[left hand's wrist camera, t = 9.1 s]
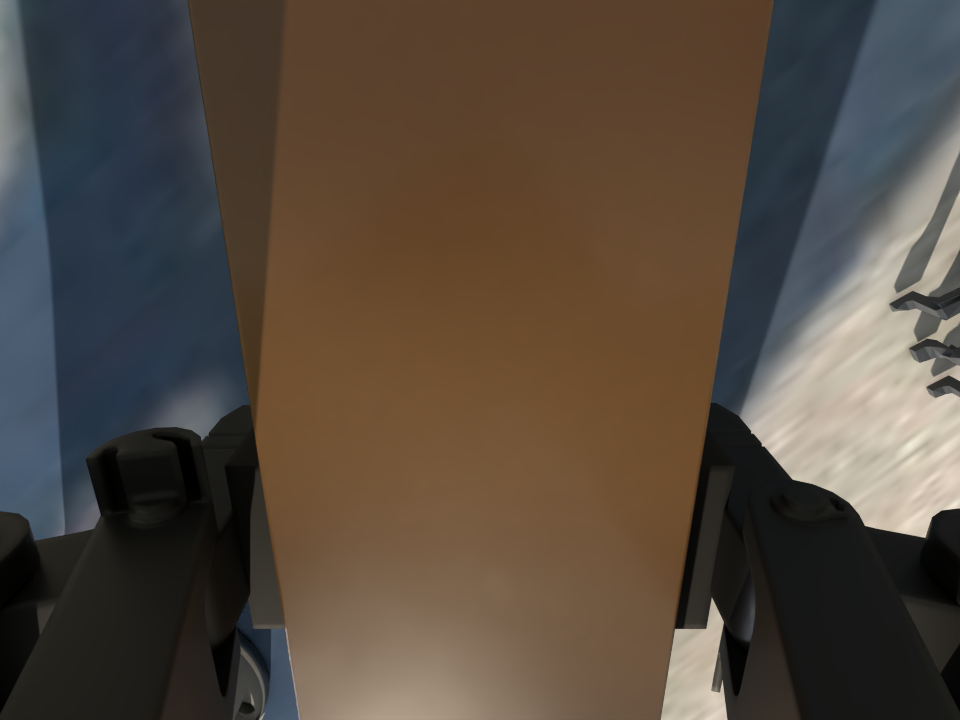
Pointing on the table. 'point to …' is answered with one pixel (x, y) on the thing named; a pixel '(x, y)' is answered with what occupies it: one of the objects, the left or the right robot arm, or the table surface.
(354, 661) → the bar
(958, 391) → the toy
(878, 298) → the table surface
